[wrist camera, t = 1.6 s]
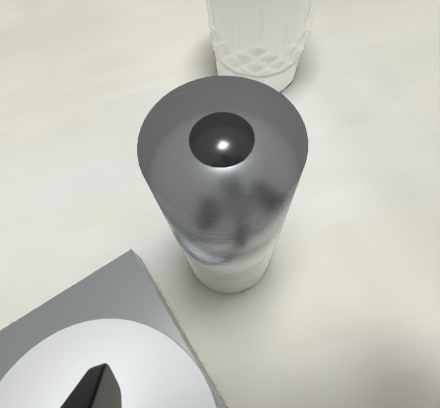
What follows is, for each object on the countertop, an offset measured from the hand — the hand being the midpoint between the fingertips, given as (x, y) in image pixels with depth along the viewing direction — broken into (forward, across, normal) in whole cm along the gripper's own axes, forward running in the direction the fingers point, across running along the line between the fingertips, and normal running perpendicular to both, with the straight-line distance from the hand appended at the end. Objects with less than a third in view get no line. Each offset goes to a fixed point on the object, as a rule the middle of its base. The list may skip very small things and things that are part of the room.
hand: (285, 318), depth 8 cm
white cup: (+23, -7, -5) cm, 25 cm away
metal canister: (+12, 0, +5) cm, 13 cm away
